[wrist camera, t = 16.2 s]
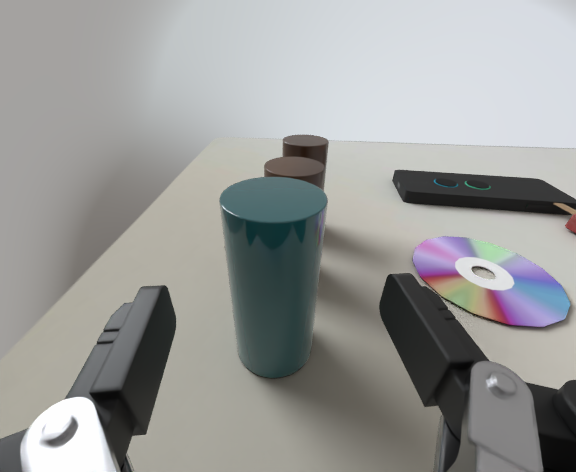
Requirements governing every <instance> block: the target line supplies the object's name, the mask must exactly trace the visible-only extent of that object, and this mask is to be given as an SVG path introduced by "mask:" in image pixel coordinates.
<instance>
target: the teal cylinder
mask: <svg viewBox="0 0 576 472" xmlns="http://www.w3.org/2000/svg"><path fill="white" fill-rule="evenodd" d="M219 202H220V210H221V219H222V227H223V235H224V243H225V251H226V260H227V268H228V276H229V284H230V292H231V301H232V309H233V317H234V325H235V334H236V342H237V350H238V354H239V357H240V359H241V361H242V363H243V364H244V365H245V366H246V367H247V368H248V369H249V370H250V371H251V372H253V373H255V374H257V375H259V376H262V377H267V378H280V377H285V376H288V375H290V374H293V373H294V372H296V371H297V370H299V369H300V368H301V367H302V366H303V365H304V364H305V363H306V361H307V360H308V358H309V355H310V353H311V347H312V338H313V329H314V320H315V311H316V302H317V293H318V284H319V275H320V266H321V257H322V248H323V239H324V230H325V221H326V212H327V203H328V199H327V196H326V194H325V193H324V191H323V190H321V189H320V188H319V187H317V186H315V185H313V184H311V183H308V182H306V181H302V180H298V179H293V178H286V177H260V178H253V179H248V180H244V181H241V182H238V183H235V184H233V185H231V186H229V187H228V188H227V189H225V190H224V191H223V192H222V194H221V196H220V200H219Z"/></svg>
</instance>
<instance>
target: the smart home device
mask: <svg viewBox="0 0 576 472" xmlns="http://www.w3.org/2000/svg"><path fill="white" fill-rule="evenodd" d="M392 181H393V183H394V185H395V187H396V189H397V191H398V193H399V194H400V196H401V198H402V200H403V201H404V202H407V203H415V204H429V205H442V206H456V207H469V208H483V209H496V210H509V211H523V212H536V213H550V214H563V215H572V214H571V213H569V212H567V211H565V210H564V209H562V208H560V207H558V206H556V205H554V204H553V203H563V204H565V205H567V206H569V207H571V208H572V209H574V210H576V199H574V198H573V197H571V196H569V195H567V194H566V193H564V192H562V191H560V190H559V189H557V188H555V187H553V186H552V185H550V184H548V183H546V182H545V181H543V180H540V179H533V178H519V177H503V176H487V175H472V174H456V173H441V172H425V171H409V170H395V172H394V176H393V180H392Z"/></svg>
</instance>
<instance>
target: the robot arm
mask: <svg viewBox="0 0 576 472" xmlns="http://www.w3.org/2000/svg"><path fill="white" fill-rule="evenodd" d="M379 309H380V315H381V318H382V321H383V323H384V325H385V327H386V329H387V331H388V333H389V335H390V337H391V339H392V341H393V343H394V345H395V347H396V349H397V351H398V353H399V355H400V357H401V360H402V362H403V364H404V366H405V368H406V370H407V372H408V374H409V376H410V378H411V380H412V382H413V384H414V386H415V388H416V390H417V392H418V394H419V396H420V398H421V400H422V402H423V404H424V406H425V407H428V406H439V408H440V410H441V412H442V415H441V417H440V422H439V430H438V437H437V445H436V453H435V460H434V468H433V472H576V380H570V381H568V382H566V383H565V384H564V385H563V386H562V387H561V388H560V389H559V390H557V389H553V388H548V387H544V386H539V385H535V384H530V383H526V382H524V381H523V380H522V379H521V378H520V377H519V376H518V375H517V374H516V373H514V372H513V371H511V370H510V369H508V368H507V367H505V366H503V365H501V364H498V363H495V362H491V361H489V360H488V359H487V357H486V356H485V355H484V354H483V352H482V351H481V350H480V348H479V347H478V346H477V345H476V343H475V342H474V341H473V339H472V338H471V337H470V336H469V334H468V333H467V332H466V330H465V329H464V328H463V327H462V325H461V324H460V323H459V321H458V320H456V319H455V316H454V315H453V314H452V312H451V311H450V310H448V307H447V306H446V305H445V303H444V302H443V301H442V300H441V298H440V297H439V296H438V295H437V294H435V293H434V292H433V291H431V290H430V289H429V288H427V287H426V286H421V285H420V284H419V283H418V281H417V280H416V279H415V277H414V276H413V275H412V274H410V273H402V274H389V275H388V277H387V279H386V283H385V286H384V290H383V293H382V297H381V300H380V305H379ZM175 330H176V316H175V312H174V308H173V305H172V302H171V298H170V295H169V291H168V288H167V287H166V286H165V285H163V286H144V287H141V288H140V289H139V291H138V293H137V295H136V297H135V299H134V301H133V303H124V304H123V305H122V306H121V307H120V308H119V309H118V310H117V311H116V312H115V313H114V314H112V315H111V317H110V319H109V321H108V323H107V324H106V326H105V328H104V332H103V333H101V335H100V337H99V339H98V341H97V345H95V346H94V348H93V350H92V351H91V353H90V355H89V357H88V359H87V361H86V362H85V364H84V366H83V368H82V370H81V371H80V373H79V375H78V377H77V379H76V380H75V382H74V384H73V386H72V388H71V389H70V391H69V393H68V395H67V396H66V398H65V399H64V400H63V401H61V402H59V403H57V404H55V405H53V406H52V407H50V408H49V409H47V410H46V411H45V412H43V413H42V414H41V415H40V416H39V417H38V418H37V419H36V420H35V421H34V422H33V423H32V425H31V426H30V427H29V428H27V429H25V430H23V431H20V432H18V433H15V434H12V435H10V436H7V437H5V438H2V439H0V472H134V469H133V467H132V464H131V461H130V459H129V456H128V454H127V450H128V447H129V444H130V441H131V438H132V436H135V435H145V434H146V432H147V429H148V425H149V422H150V418H151V415H152V411H153V408H154V404H155V401H156V397H157V394H158V390H159V387H160V383H161V380H162V376H163V373H164V369H165V366H166V362H167V359H168V355H169V352H170V348H171V345H172V341H173V338H174V334H175Z"/></svg>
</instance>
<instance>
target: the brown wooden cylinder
mask: <svg viewBox="0 0 576 472" xmlns="http://www.w3.org/2000/svg"><path fill="white" fill-rule="evenodd" d="M324 170H325V167H324V165H323V164H322V163H321V162H319V161H316V160H313V159H309V158H304V157H280V158H275V159H272V160H269V161H268V162H266V163H265V165H264V177H286V178H293V179H298V180H302V181H306V182H308V183H311V184H313V185H315V186H317V187H319V188H320V189H321V190H323V180H324Z"/></svg>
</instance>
